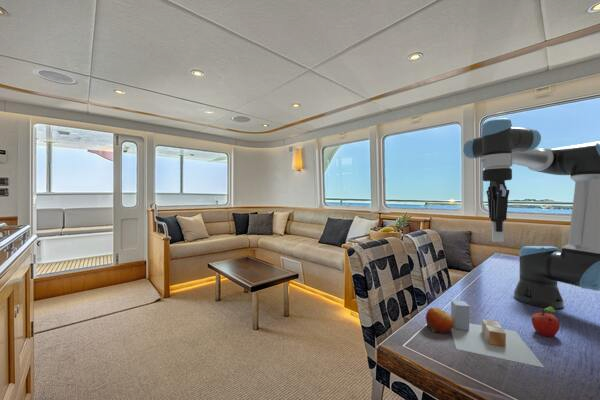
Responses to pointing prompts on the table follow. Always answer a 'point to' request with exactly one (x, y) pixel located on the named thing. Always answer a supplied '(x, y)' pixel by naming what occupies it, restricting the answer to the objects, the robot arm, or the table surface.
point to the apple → (545, 323)
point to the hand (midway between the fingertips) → (497, 241)
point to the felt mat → (478, 344)
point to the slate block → (460, 314)
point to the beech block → (493, 333)
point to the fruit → (439, 320)
